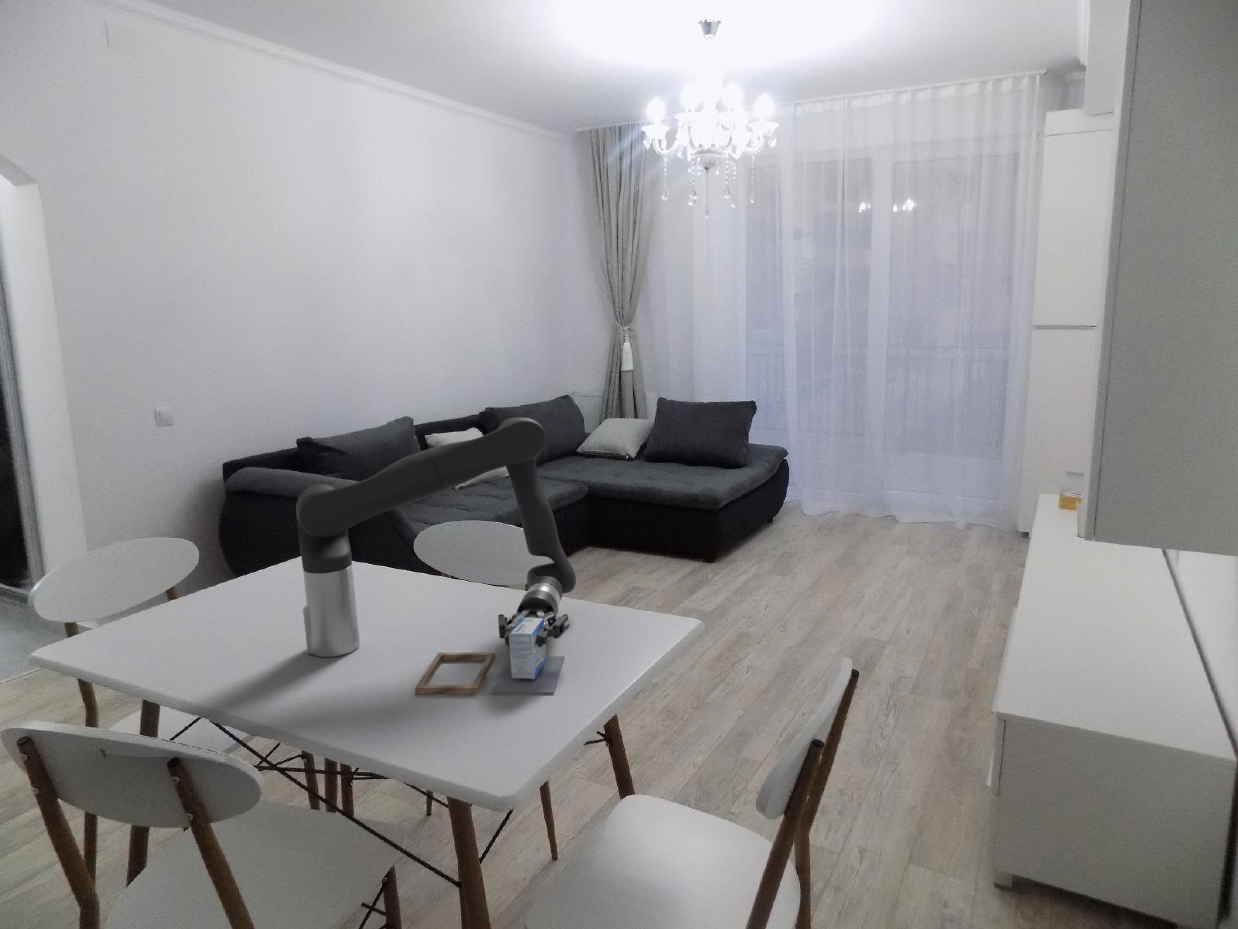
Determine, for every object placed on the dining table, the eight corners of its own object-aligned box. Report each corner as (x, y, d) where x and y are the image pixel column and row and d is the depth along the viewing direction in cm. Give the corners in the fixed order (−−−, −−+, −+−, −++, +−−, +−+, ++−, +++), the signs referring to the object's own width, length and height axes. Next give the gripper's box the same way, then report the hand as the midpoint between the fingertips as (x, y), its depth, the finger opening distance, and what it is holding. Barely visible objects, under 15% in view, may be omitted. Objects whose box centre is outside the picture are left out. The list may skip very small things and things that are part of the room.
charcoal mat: (491, 694, 145) (490, 692, 145) (507, 658, 159) (507, 656, 159) (553, 694, 144) (553, 692, 144) (564, 658, 159) (564, 656, 159)
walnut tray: (415, 694, 146) (414, 687, 145) (438, 658, 160) (438, 652, 160) (477, 694, 145) (476, 687, 145) (494, 658, 160) (494, 652, 159)
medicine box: (534, 680, 147) (532, 634, 146) (510, 678, 148) (508, 633, 146) (546, 661, 155) (544, 617, 153) (523, 660, 156) (521, 616, 154)
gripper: (502, 589, 164) (483, 622, 147) (574, 589, 163) (563, 622, 146) (504, 625, 165) (486, 661, 149) (576, 624, 165) (565, 661, 148)
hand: (524, 642), depth 148 cm, fingers closed on medicine box, 5 cm apart
